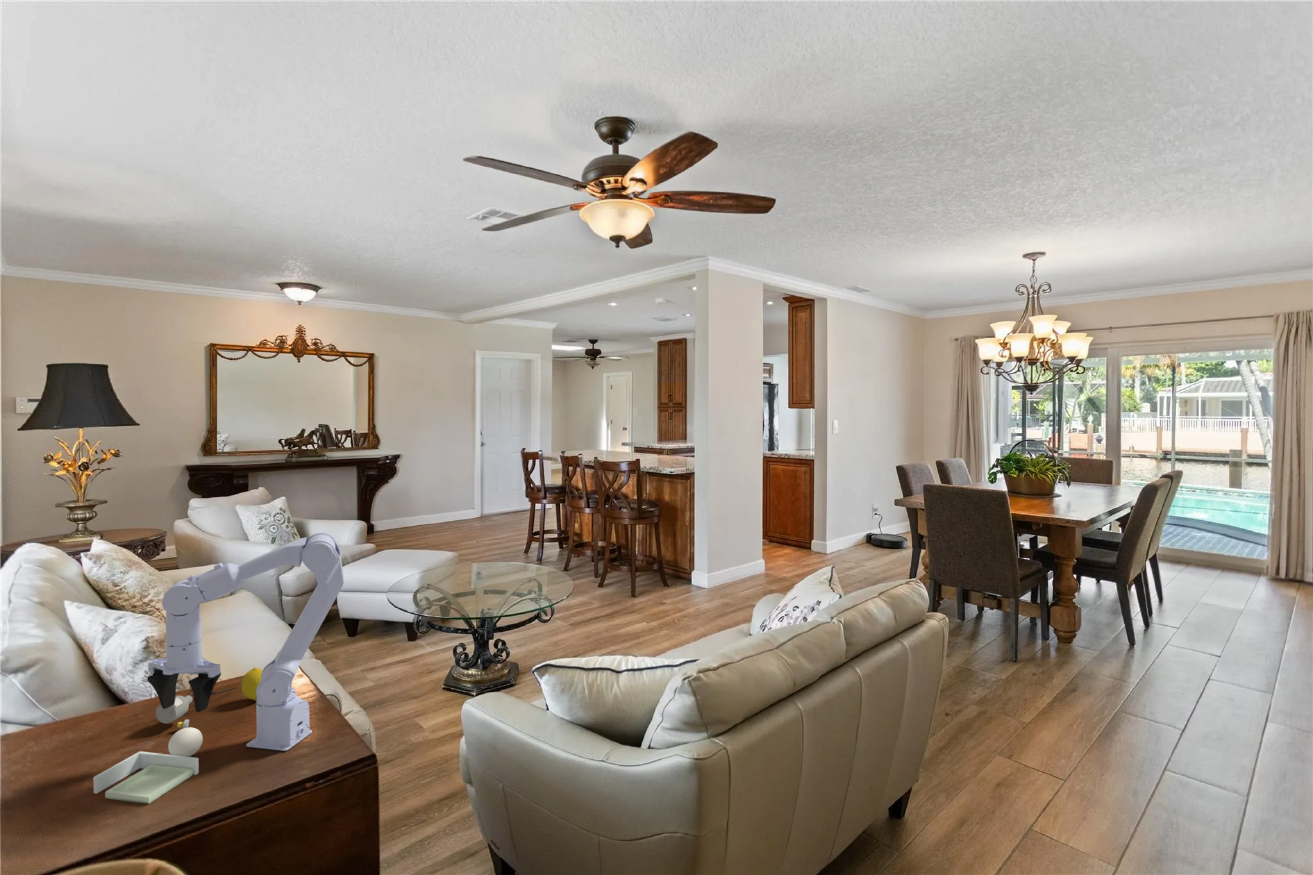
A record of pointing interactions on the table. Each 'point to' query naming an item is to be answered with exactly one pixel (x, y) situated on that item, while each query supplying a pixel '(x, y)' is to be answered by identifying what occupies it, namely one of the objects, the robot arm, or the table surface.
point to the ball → (185, 742)
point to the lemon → (251, 683)
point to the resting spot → (149, 784)
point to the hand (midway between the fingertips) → (185, 708)
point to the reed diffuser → (177, 710)
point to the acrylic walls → (142, 762)
